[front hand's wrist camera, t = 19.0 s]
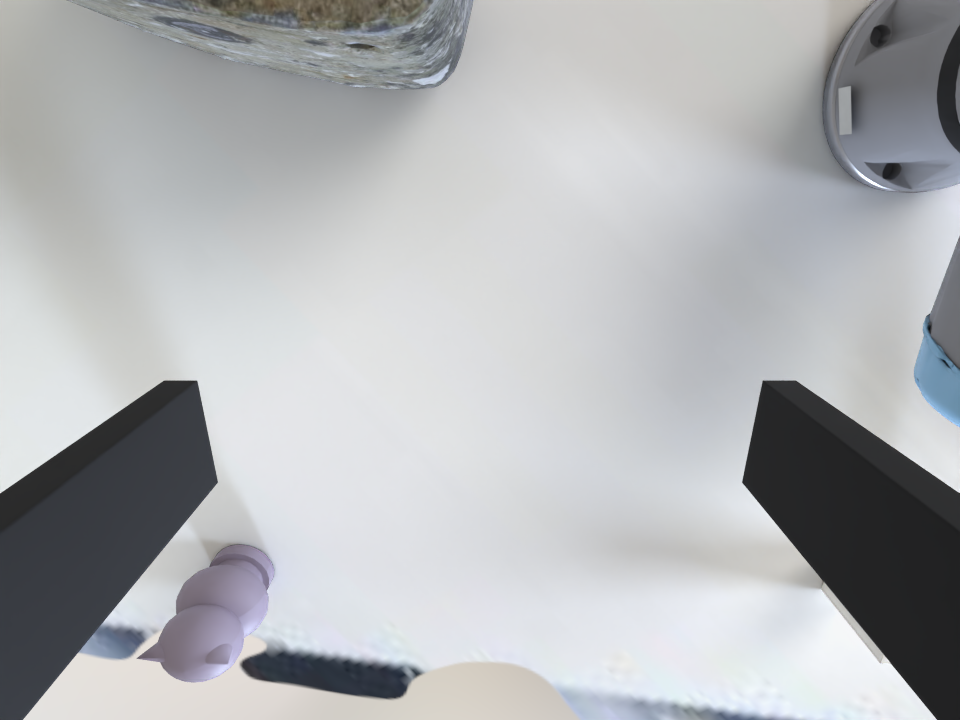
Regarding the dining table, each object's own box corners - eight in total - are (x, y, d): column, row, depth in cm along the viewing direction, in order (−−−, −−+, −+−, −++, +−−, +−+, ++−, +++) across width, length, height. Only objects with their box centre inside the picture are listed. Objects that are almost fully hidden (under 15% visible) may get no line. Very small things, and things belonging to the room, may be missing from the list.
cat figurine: (208, 597, 57) (141, 703, 46) (197, 538, 55) (123, 635, 43) (286, 599, 57) (239, 705, 46) (279, 540, 55) (228, 637, 43)
